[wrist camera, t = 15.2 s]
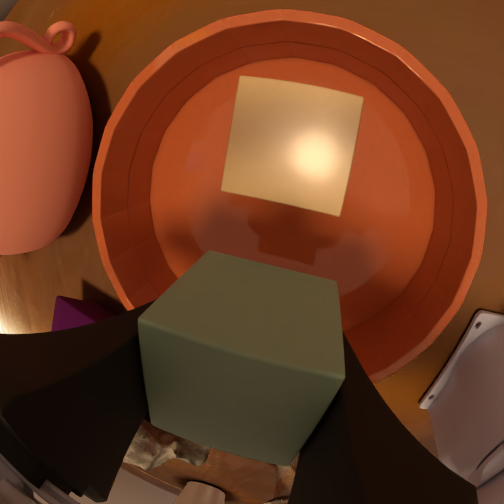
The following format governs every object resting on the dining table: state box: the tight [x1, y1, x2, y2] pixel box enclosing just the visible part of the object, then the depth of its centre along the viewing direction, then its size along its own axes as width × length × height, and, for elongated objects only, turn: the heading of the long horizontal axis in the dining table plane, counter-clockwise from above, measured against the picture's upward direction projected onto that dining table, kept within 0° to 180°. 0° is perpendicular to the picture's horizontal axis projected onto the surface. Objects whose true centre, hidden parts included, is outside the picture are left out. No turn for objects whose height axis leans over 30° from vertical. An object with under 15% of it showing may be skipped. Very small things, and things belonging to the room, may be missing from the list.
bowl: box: [92, 9, 487, 383], centre depth 12 cm, size 17×17×5 cm
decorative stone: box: [123, 419, 210, 471], centre depth 21 cm, size 16×9×10 cm, turn 56°
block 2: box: [138, 250, 345, 466], centre depth 8 cm, size 4×4×4 cm
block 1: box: [221, 76, 364, 217], centre depth 11 cm, size 4×4×4 cm
